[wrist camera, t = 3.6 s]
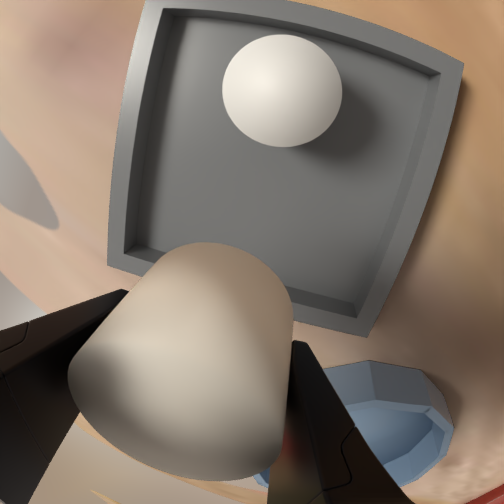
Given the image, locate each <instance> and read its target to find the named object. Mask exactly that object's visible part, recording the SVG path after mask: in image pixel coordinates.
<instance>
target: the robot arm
mask: <svg viewBox="0 0 504 504" xmlns="http://www.w3.org/2000/svg"><path fill="white" fill-rule="evenodd" d="M128 293H129V291H127V290H124V289H119V290H116V291H113V292H110V293H107V294H105V295H102V296H99V297H96V298H93V299H90V300H87V301H85V302H82V303H79V304H76V305H73V306H70V307H67V308H65V309H62V310H59V311H56V312H53V313H50V314H48V315H45V316H42V317H39V318H36V319H33V320H31V321H29V322H25V323H22V324H20V325H16V326H13V327H10V328H7V329H4V330H1V331H0V502H2V503H3V504H28V503H29V501H30V499H31V497H32V495H33V493H34V491H35V489H36V488H37V486H38V484H39V482H40V480H41V478H42V477H43V475H44V473H45V471H46V469H47V468H48V466H49V463H50V462H51V460H52V458H53V457H54V455H55V453H56V451H57V450H58V448H59V446H60V444H61V443H62V441H63V439H64V438H65V436H66V434H67V433H68V431H69V429H70V428H71V426H72V424H73V423H74V421H75V419H76V418H77V416H78V414H79V413H80V410H79V409H78V407H77V405H76V404H75V402H74V400H73V397H72V395H71V392H70V389H69V384H68V369H69V364H70V363H71V361H72V359H73V357H74V356H75V355H76V353H77V352H78V351H79V350H80V349H81V347H82V346H83V345H84V344H85V343H86V341H87V340H88V339H89V338H90V337H91V335H92V334H93V333H94V332H95V331H96V329H97V328H98V327H99V326H100V325H101V324H102V322H103V321H104V320H105V319H106V318H107V317H108V315H109V314H110V313H111V312H112V311H113V310H114V308H115V307H116V306H117V305H118V304H119V303H120V302H121V300H122V299H123V298H124V297H125V296H126V295H127V294H128ZM267 504H415V503H414V502H412V501H411V500H410V499H409V498H408V497H407V496H406V495H405V493H404V492H403V491H402V490H401V488H400V487H399V486H398V485H397V483H396V482H395V481H394V479H393V478H392V477H391V476H390V474H389V473H388V472H387V470H386V469H385V468H384V467H383V465H382V464H381V463H380V461H379V460H378V458H377V457H376V456H375V454H374V453H373V452H372V450H371V449H370V447H369V445H368V444H367V442H366V441H365V439H364V438H363V436H362V434H361V433H360V431H359V429H358V428H357V427H356V426H355V423H354V421H353V419H352V418H351V416H350V414H349V413H348V411H347V409H346V408H345V406H344V404H343V403H342V401H341V399H340V398H339V396H338V394H337V392H336V391H335V389H334V387H333V386H332V384H331V382H330V381H329V379H328V377H327V376H326V374H325V372H324V371H323V369H322V367H321V366H320V364H319V362H318V360H317V359H316V357H315V355H314V354H313V352H312V350H311V349H310V347H309V345H308V344H307V343H306V342H302V341H297V340H294V341H293V342H292V347H291V360H290V372H289V383H288V394H287V405H286V415H285V425H284V434H283V444H282V449H281V453H280V455H279V457H278V459H277V460H276V461H275V462H274V463H273V465H271V466H270V474H269V486H268V498H267Z"/></svg>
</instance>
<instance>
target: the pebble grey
mask: <svg viewBox="0 0 504 504" xmlns="http://www.w3.org/2000/svg"><path fill="white" fill-rule="evenodd" d="M222 94H223V101H224V105H225V108H226V110H227V113H228V115H229V117H230V118H231V120H232V121H233V123H234V124H235V125H236V126H237V127H238V128H239V129H240V131H242V132H243V133H244V134H245V135H247V136H248V137H250V138H251V139H253V140H255V141H257V142H260V143H262V144H266V145H269V146H275V147H292V146H297V145H301V144H304V143H307V142H309V141H311V140H313V139H315V138H317V137H318V136H320V135H321V134H322V133H323V132H324V131H326V130H327V128H328V127H329V126H330V125H331V124H332V122H333V121H334V119H335V118H336V116H337V114H338V111H339V108H340V105H341V100H342V83H341V79H340V75H339V73H338V70H337V68H336V66H335V64H334V63H333V61H332V60H331V58H330V57H329V56H328V55H327V54H326V53H325V52H324V51H323V50H322V49H321V48H320V47H318V46H317V45H315V44H314V43H312V42H310V41H308V40H306V39H303V38H300V37H297V36H292V35H280V34H279V35H270V36H265V37H262V38H259V39H256V40H254V41H252V42H250V43H249V44H247V45H246V46H244V47H243V48H242V49H241V50H240V51H239V52H238V53H237V54H236V55H235V56H234V57H233V59H232V60H231V62H230V63H229V65H228V67H227V69H226V72H225V75H224V79H223V85H222Z"/></svg>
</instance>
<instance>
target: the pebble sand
mask: <svg viewBox="0 0 504 504" xmlns="http://www.w3.org/2000/svg"><path fill="white" fill-rule="evenodd" d="M292 333H293V308H292V303H291V300H290V297H289V294H288V292H287V290H286V288H285V286H284V285H283V283H282V282H281V280H280V279H279V278H278V276H277V275H276V274H275V273H274V272H273V271H272V270H271V269H270V268H269V267H268V266H267V265H266V264H264V263H263V262H262V261H261V260H259V259H258V258H256V257H254V256H253V255H251V254H249V253H247V252H245V251H243V250H241V249H238V248H235V247H232V246H229V245H224V244H220V243H210V242H201V243H192V244H186V245H183V246H180V247H177V248H175V249H173V250H171V251H169V252H167V253H166V254H165V255H163V256H162V257H161V258H160V259H159V260H158V261H157V262H156V263H155V264H154V265H153V266H152V267H151V268H150V269H149V270H148V271H147V272H146V274H145V275H144V276H143V277H142V278H141V279H140V280H139V281H138V282H137V284H136V285H135V286H134V287H133V288H132V289H131V290H130V291H129V293H128V294H127V295H126V296H125V297H124V298H123V299H122V300H121V302H120V303H119V304H118V305H117V306H116V307H115V308H114V310H113V311H112V312H111V313H110V314H109V315H108V317H107V318H106V319H105V320H104V321H103V322H102V324H101V325H100V326H99V327H98V328H97V329H96V331H95V332H94V333H93V334H92V335H91V337H90V338H89V339H88V340H87V341H86V343H85V344H84V345H83V346H82V347H81V349H80V350H79V351H78V352H77V353H76V355H75V356H74V357H73V359H72V361H71V363H70V364H69V369H68V384H69V389H70V392H71V395H72V397H73V400H74V402H75V404H76V405H77V407H78V409H79V410H80V412H81V413H82V415H83V416H84V417H85V419H86V420H87V421H88V422H89V423H90V425H91V426H92V427H93V428H94V429H95V430H96V431H97V432H98V433H99V434H100V435H102V436H103V437H104V438H105V439H106V440H107V441H109V442H110V443H111V444H112V445H114V446H115V447H117V448H118V449H119V450H121V451H122V452H124V453H126V454H127V455H129V456H131V457H132V458H134V459H136V460H138V461H140V462H142V463H144V464H146V465H148V466H151V467H153V468H156V469H158V470H161V471H164V472H167V473H170V474H173V475H177V476H181V477H185V478H190V479H196V480H205V481H231V480H238V479H243V478H247V477H251V476H254V475H256V474H259V473H261V472H263V471H264V470H266V469H268V468H269V467H270V466H271V465H273V463H274V462H275V461H276V460H277V459H278V457H279V455H280V453H281V449H282V444H283V434H284V425H285V415H286V405H287V394H288V383H289V372H290V360H291V347H292Z"/></svg>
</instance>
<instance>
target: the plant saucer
mask: <svg viewBox="0 0 504 504" xmlns="http://www.w3.org/2000/svg"><path fill="white" fill-rule="evenodd" d="M466 504H504V484H503V485H501V486H499V487H497V488H495V489H494V490H492V491H490V492H488V493H486V494H484V495H482V496H480V497H478V498H476V499H474V500H472V501H470V502H468V503H466Z"/></svg>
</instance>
